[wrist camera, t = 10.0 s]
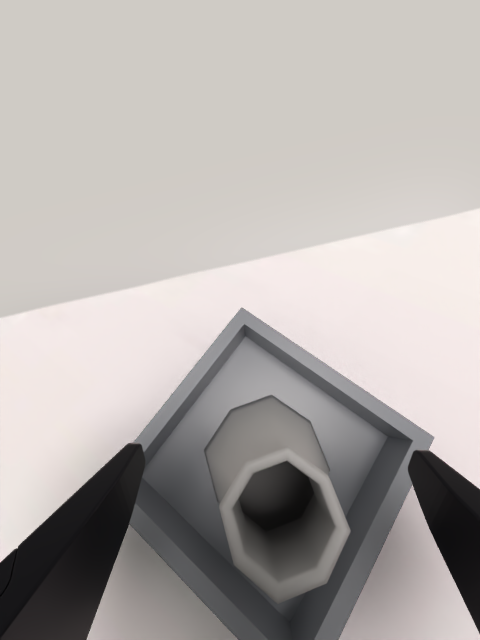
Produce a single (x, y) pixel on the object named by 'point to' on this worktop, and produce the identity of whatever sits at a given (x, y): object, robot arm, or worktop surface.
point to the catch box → (345, 474)
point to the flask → (276, 498)
